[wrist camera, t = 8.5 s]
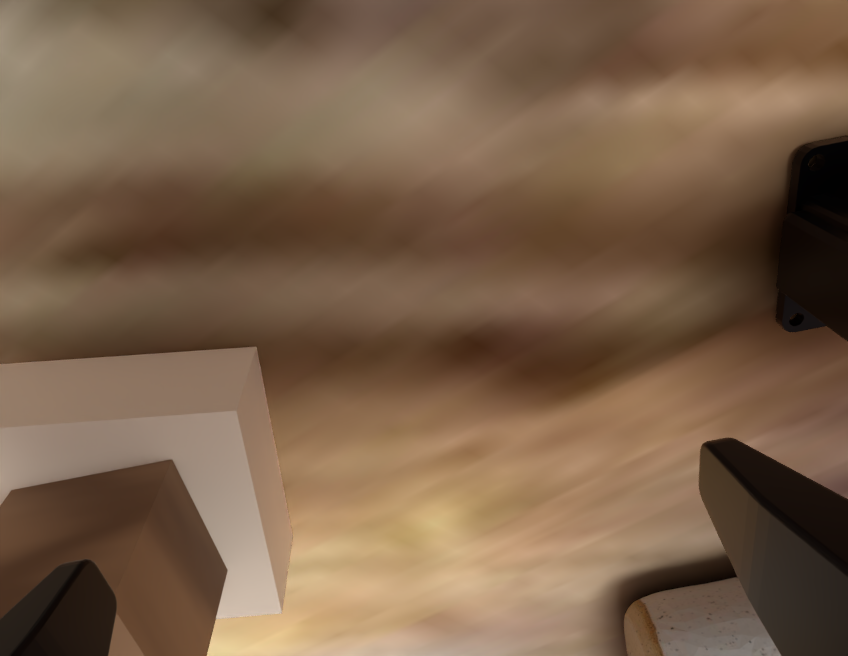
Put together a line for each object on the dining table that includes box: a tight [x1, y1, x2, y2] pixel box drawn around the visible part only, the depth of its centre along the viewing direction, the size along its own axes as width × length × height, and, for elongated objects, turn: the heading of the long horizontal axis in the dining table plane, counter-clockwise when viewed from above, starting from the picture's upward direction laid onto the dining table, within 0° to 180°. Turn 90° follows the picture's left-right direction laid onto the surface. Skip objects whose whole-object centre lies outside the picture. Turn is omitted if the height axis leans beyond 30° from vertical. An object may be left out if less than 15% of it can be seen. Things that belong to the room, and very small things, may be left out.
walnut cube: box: [0, 459, 228, 656], centre depth 18 cm, size 5×5×5 cm
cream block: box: [0, 347, 293, 619], centre depth 22 cm, size 9×9×4 cm
